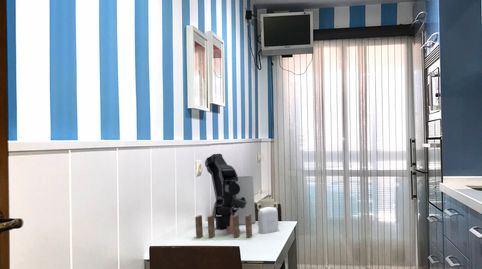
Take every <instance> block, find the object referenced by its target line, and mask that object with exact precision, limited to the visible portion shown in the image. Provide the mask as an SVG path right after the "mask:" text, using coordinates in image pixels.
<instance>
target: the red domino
mask: <svg viewBox="0 0 482 269" xmlns="http://www.w3.org/2000/svg"><path fill="white" fill-rule="evenodd" d="M232 216H233V214H232V215H231V220H230V226H229V227H228V226H227V235H232V234H233V218H232Z"/></svg>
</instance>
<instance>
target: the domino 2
mask: <svg viewBox="0 0 482 269" xmlns="http://www.w3.org/2000/svg"><path fill="white" fill-rule="evenodd" d="M215 228H216V224H215V218H214V215H212V214H210V215H208V216H207V230H208V231H207V233H208V234H207V235H208V236H209V238H213V237H215V235H216V230H215Z"/></svg>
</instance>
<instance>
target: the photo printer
mask: <svg viewBox="0 0 482 269" xmlns="http://www.w3.org/2000/svg"><path fill="white" fill-rule="evenodd" d="M274 207H275V206H274ZM274 207H265V208H262V209H260V210H258V211H257V225H258V234H260V235H261V234H262V235H265V234H271V233H275V232H279V214H278V212H279V211H278V208H277V209H276V208H274Z"/></svg>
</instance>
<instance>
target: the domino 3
mask: <svg viewBox="0 0 482 269" xmlns="http://www.w3.org/2000/svg"><path fill="white" fill-rule="evenodd" d="M232 218H233V233H232V235H233V236H234V238H238V237H239V236H240V234H241V233H240V232H241V231H240V225H239V215H234V216H232Z"/></svg>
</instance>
